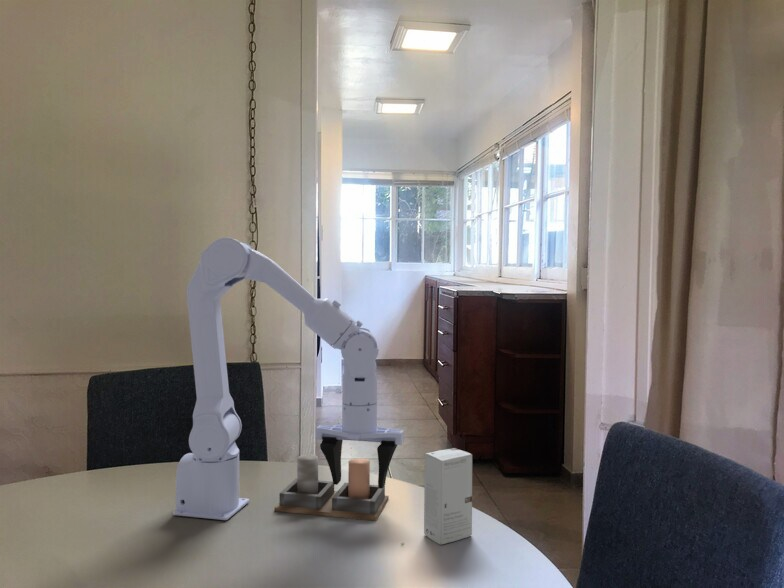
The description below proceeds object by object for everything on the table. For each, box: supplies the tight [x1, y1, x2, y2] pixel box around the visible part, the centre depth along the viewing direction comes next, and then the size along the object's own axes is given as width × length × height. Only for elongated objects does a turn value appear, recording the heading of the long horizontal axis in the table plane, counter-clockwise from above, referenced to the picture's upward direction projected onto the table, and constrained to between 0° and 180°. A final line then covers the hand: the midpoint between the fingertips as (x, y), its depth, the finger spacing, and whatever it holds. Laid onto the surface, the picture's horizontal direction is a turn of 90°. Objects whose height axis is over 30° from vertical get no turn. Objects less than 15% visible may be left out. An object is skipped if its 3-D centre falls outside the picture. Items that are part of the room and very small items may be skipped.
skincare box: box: [423, 447, 473, 546], centre depth 82 cm, size 6×4×12 cm
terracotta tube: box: [347, 457, 371, 499], centre depth 92 cm, size 4×4×7 cm
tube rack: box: [274, 454, 390, 522], centre depth 93 cm, size 17×9×8 cm, turn 78°
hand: (359, 484), depth 92 cm, fingers open, 7 cm apart
